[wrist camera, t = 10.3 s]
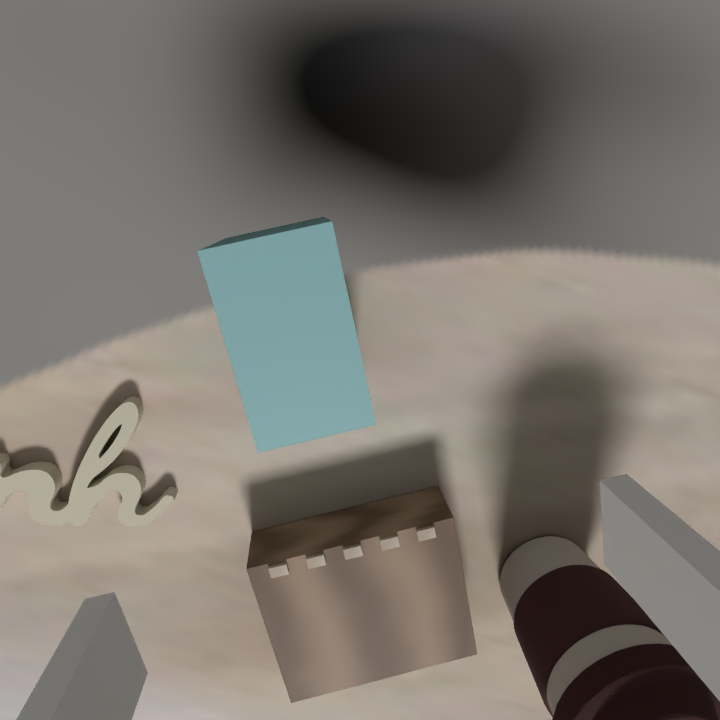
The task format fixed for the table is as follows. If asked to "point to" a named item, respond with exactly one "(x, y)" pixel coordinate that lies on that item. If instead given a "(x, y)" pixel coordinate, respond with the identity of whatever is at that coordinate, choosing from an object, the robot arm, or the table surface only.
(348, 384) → the light teal block
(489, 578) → the table surface
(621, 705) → the coffee cup
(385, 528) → the brown block
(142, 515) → the decorative sign
